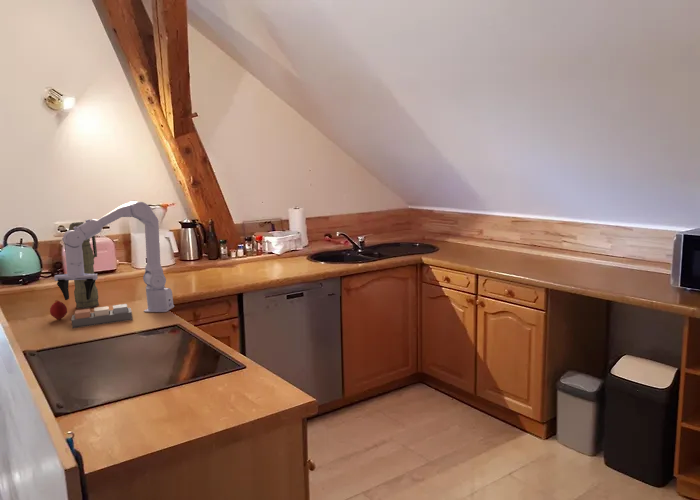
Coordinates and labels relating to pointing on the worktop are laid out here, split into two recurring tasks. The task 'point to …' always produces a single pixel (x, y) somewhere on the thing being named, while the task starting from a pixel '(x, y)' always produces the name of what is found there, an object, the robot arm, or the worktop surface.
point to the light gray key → (120, 308)
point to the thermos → (88, 269)
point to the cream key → (101, 311)
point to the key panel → (101, 319)
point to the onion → (58, 310)
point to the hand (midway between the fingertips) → (77, 299)
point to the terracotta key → (82, 313)
